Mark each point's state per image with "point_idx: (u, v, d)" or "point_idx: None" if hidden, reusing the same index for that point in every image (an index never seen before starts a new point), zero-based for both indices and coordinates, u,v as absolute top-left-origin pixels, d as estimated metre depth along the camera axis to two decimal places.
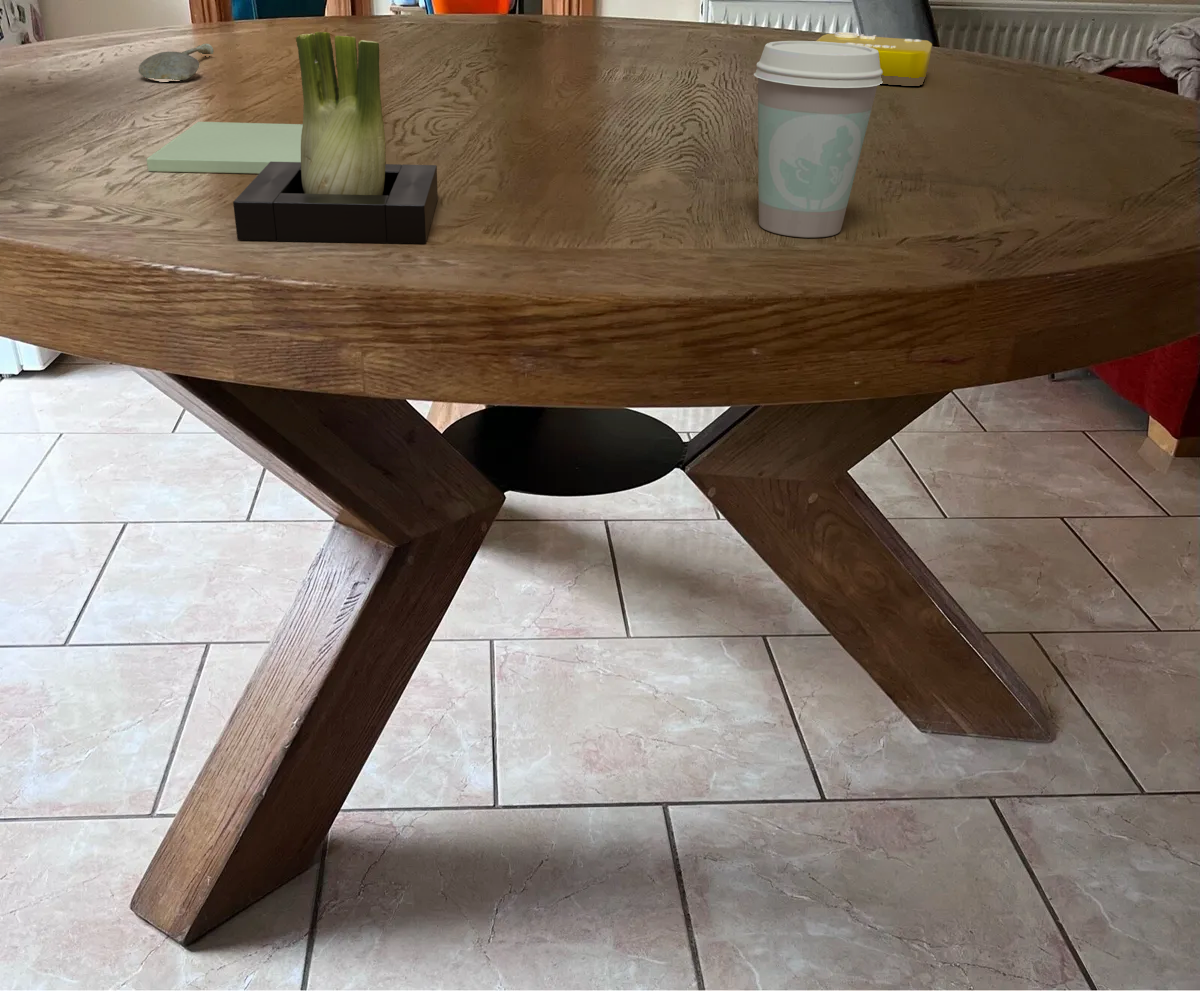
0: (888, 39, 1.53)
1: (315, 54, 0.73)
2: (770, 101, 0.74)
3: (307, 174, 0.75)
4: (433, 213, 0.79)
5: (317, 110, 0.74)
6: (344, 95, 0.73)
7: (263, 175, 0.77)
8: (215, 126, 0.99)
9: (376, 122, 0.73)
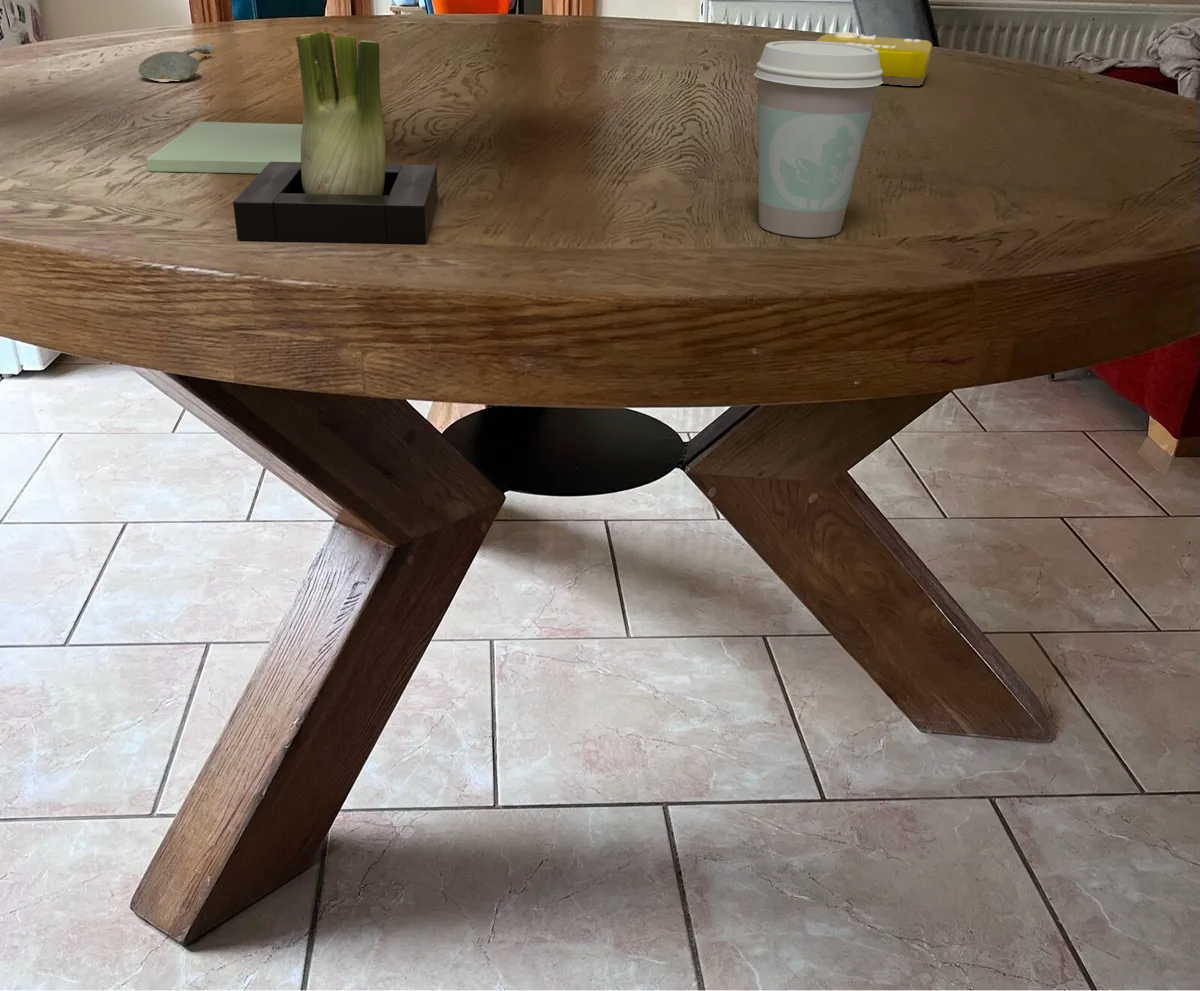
0: (888, 39, 1.53)
1: (315, 54, 0.73)
2: (770, 101, 0.74)
3: (307, 174, 0.75)
4: (433, 213, 0.79)
5: (317, 110, 0.74)
6: (344, 95, 0.73)
7: (263, 175, 0.77)
8: (215, 126, 0.99)
9: (376, 122, 0.73)
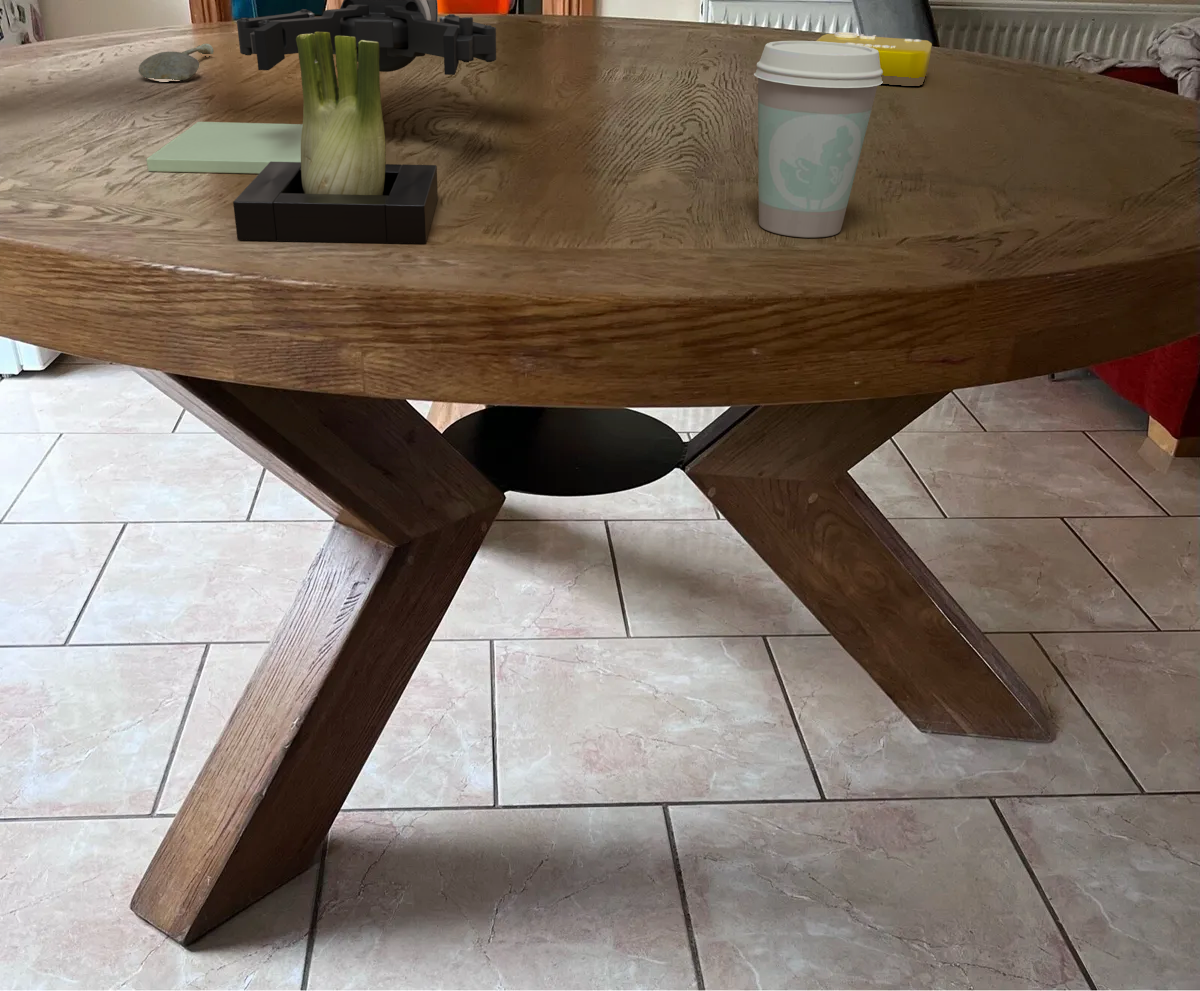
0: (888, 39, 1.53)
1: (315, 54, 0.73)
2: (770, 101, 0.74)
3: (307, 174, 0.75)
4: (433, 213, 0.79)
5: (317, 110, 0.74)
6: (344, 95, 0.73)
7: (263, 175, 0.77)
8: (215, 126, 0.99)
9: (376, 122, 0.73)
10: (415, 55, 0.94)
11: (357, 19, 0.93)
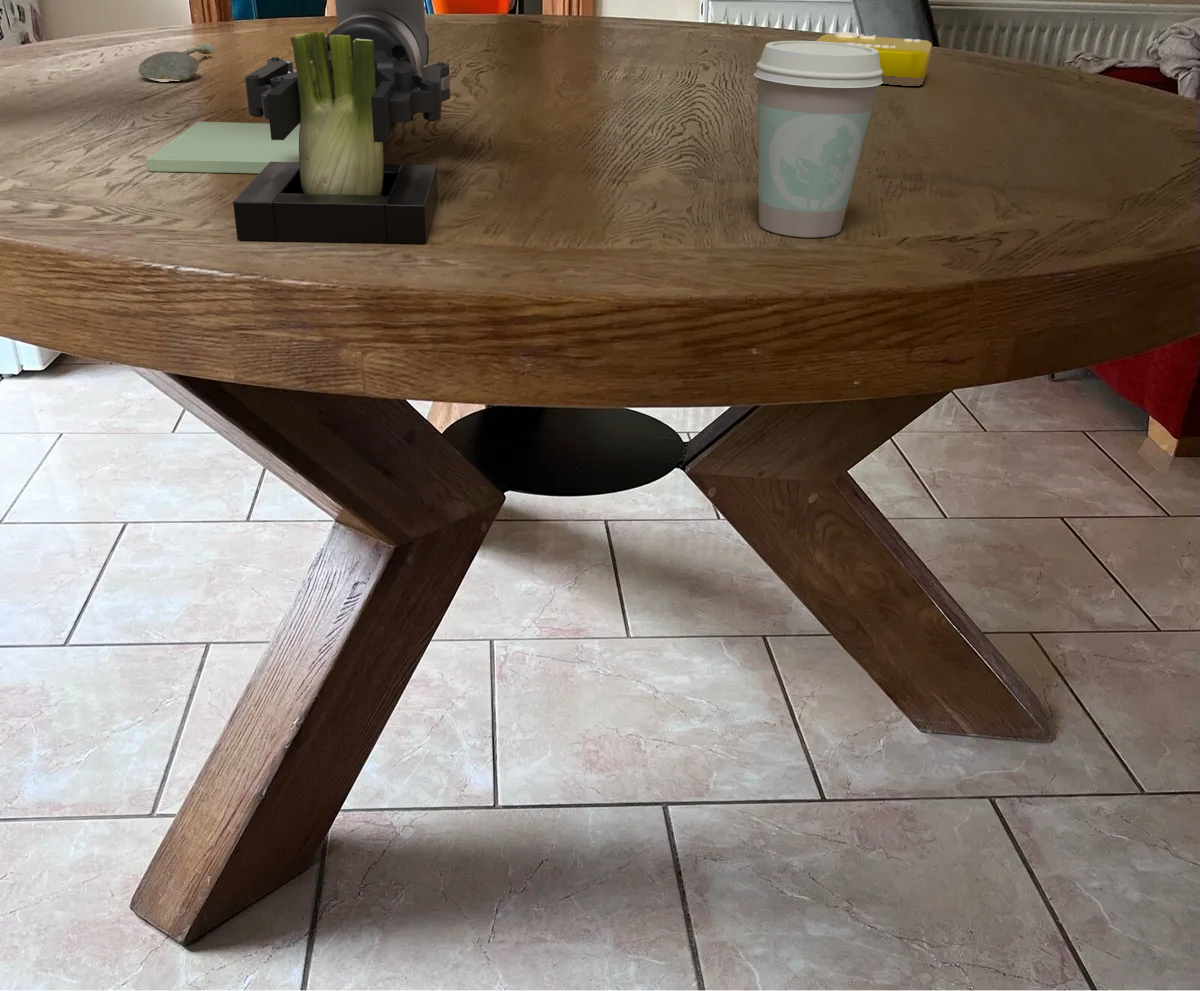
0: (888, 39, 1.53)
1: (310, 54, 0.73)
2: (770, 101, 0.74)
3: (305, 175, 0.75)
4: (433, 213, 0.79)
5: (314, 110, 0.74)
6: (340, 94, 0.73)
7: (263, 175, 0.77)
8: (215, 126, 0.99)
9: None
10: None
11: None
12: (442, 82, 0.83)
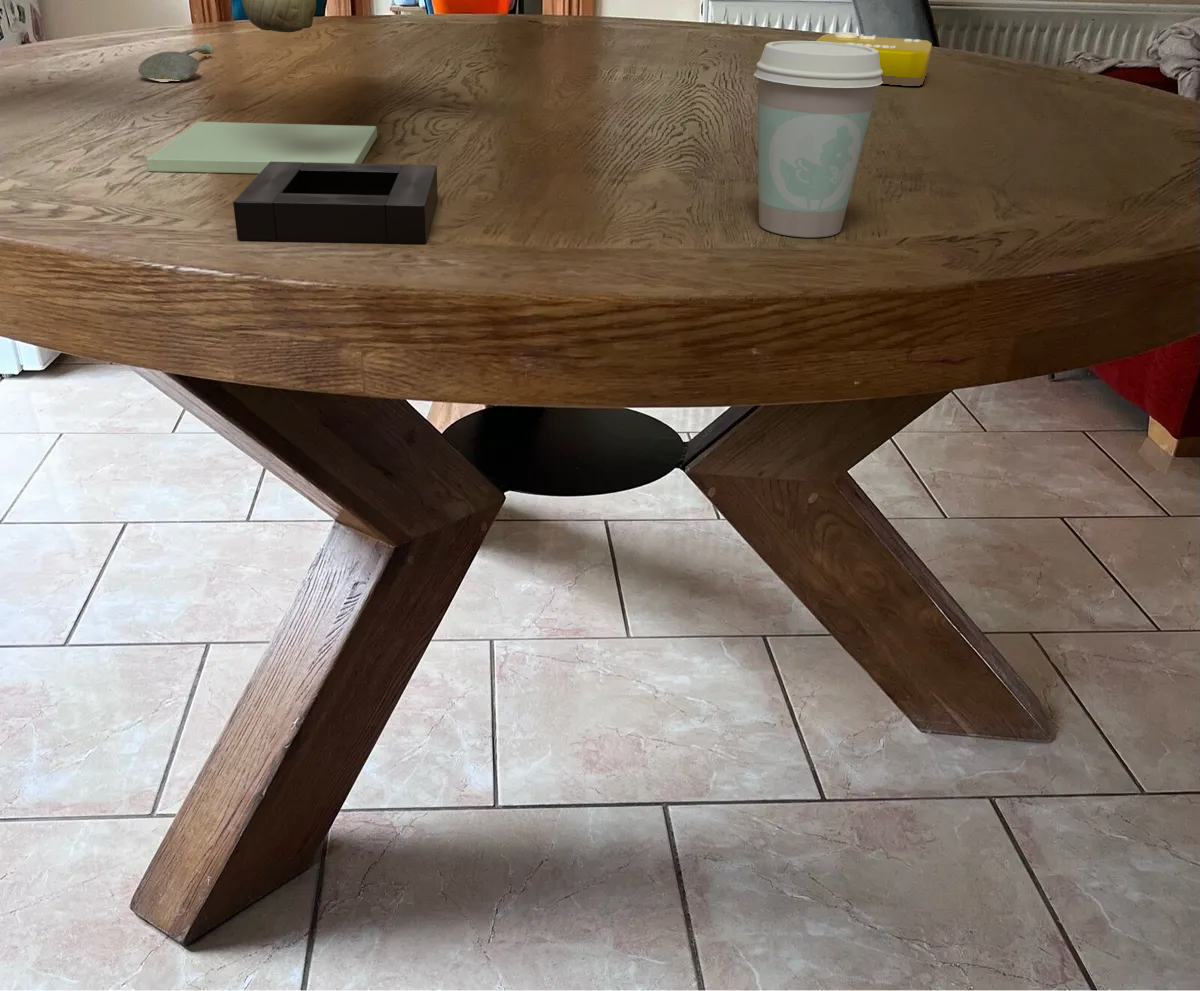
0: (888, 39, 1.53)
1: None
2: (770, 101, 0.74)
3: None
4: (433, 213, 0.79)
5: None
6: None
7: (263, 175, 0.77)
8: (215, 126, 0.99)
9: None
10: None
11: None
12: None
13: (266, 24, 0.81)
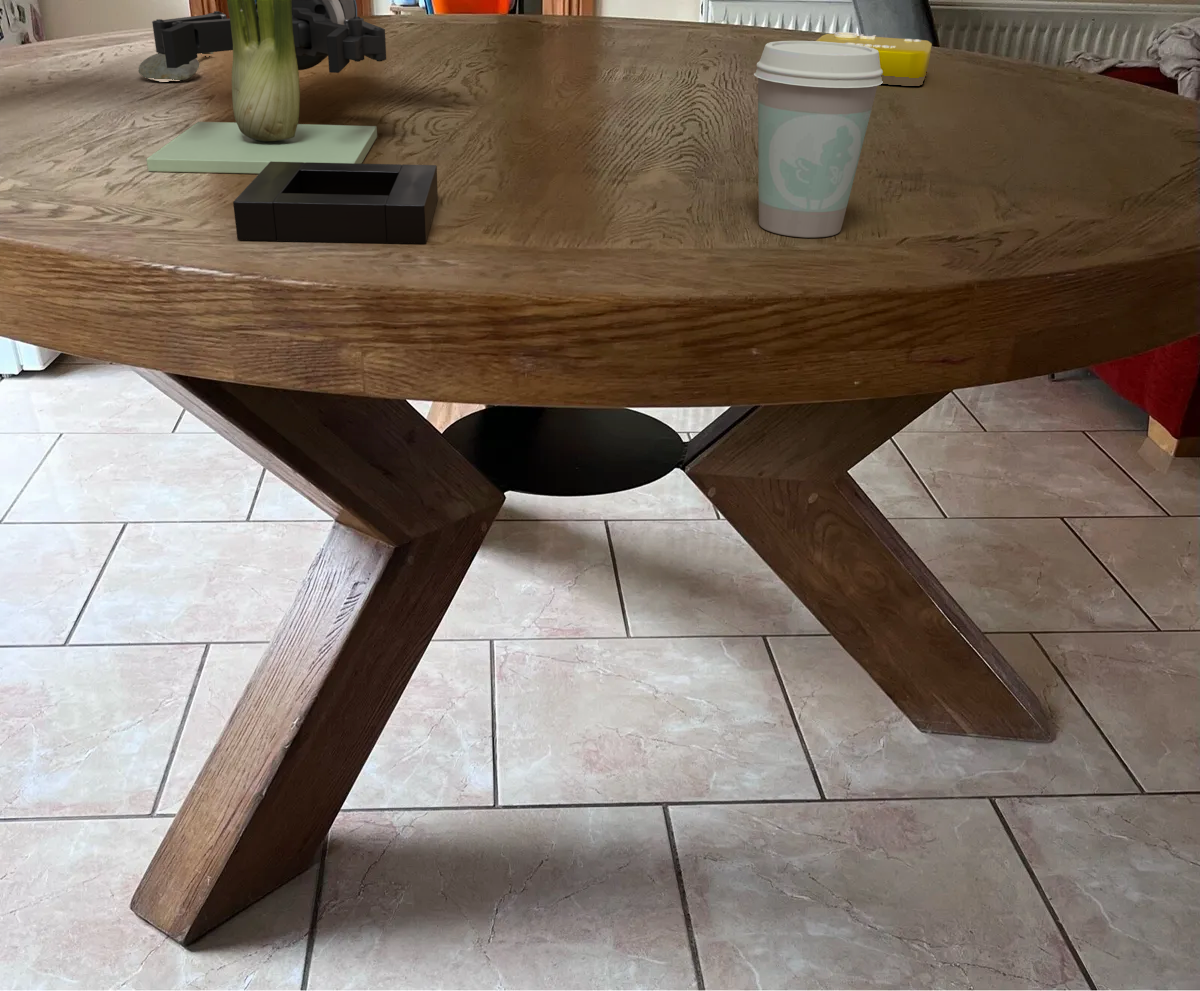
0: (888, 39, 1.53)
1: (241, 4, 0.90)
2: (770, 101, 0.74)
3: (236, 103, 0.93)
4: (433, 213, 0.79)
5: (243, 50, 0.91)
6: (264, 37, 0.90)
7: (263, 175, 0.77)
8: (215, 126, 0.99)
9: (290, 59, 0.91)
10: (320, 54, 1.00)
11: None
12: None
13: (254, 136, 0.93)
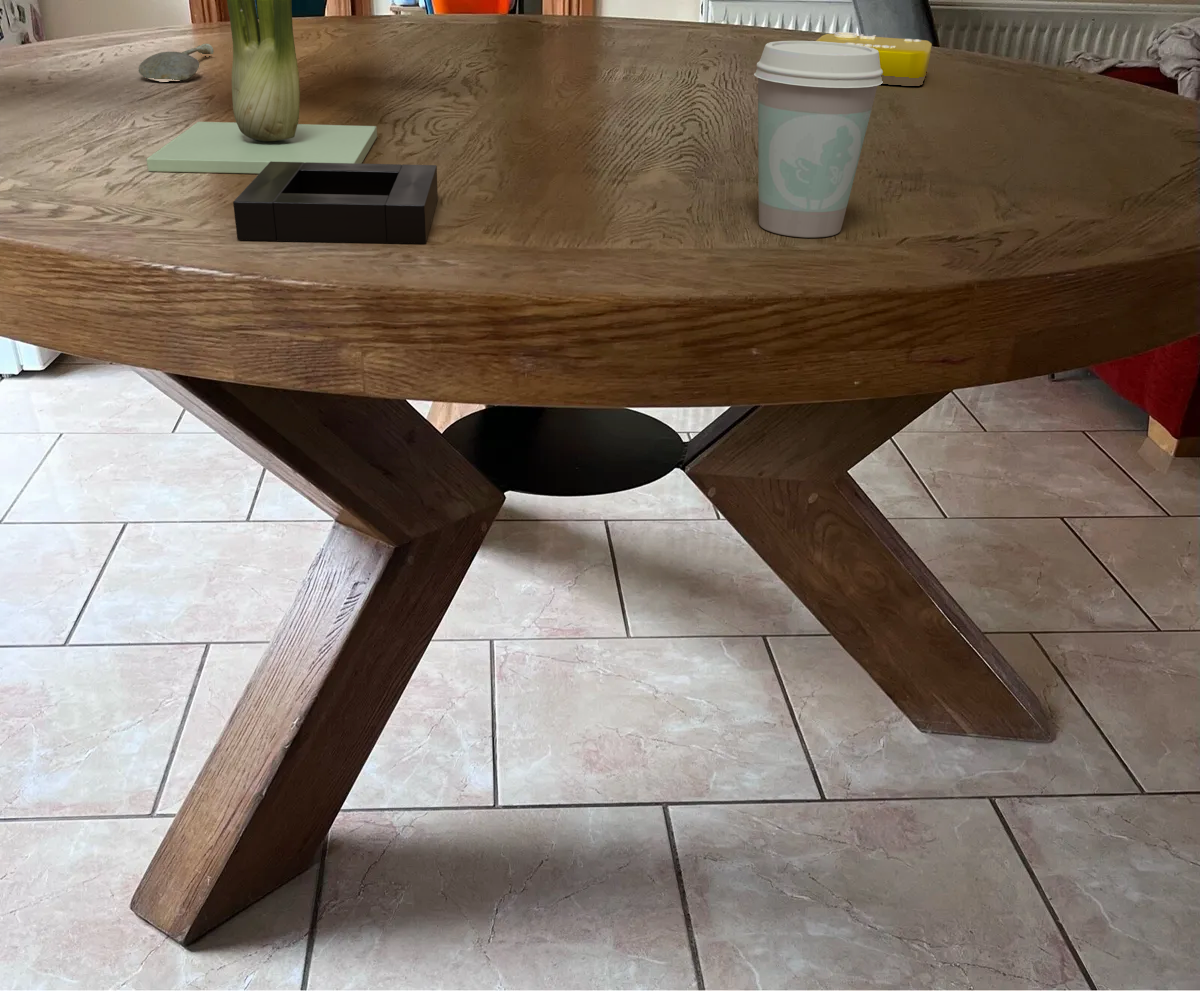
0: (888, 39, 1.53)
1: (241, 4, 0.90)
2: (770, 101, 0.74)
3: (236, 103, 0.93)
4: (433, 213, 0.79)
5: (243, 50, 0.91)
6: (264, 37, 0.90)
7: (263, 175, 0.77)
8: (215, 126, 0.99)
9: (290, 59, 0.91)
10: None
11: None
12: None
13: (254, 136, 0.93)
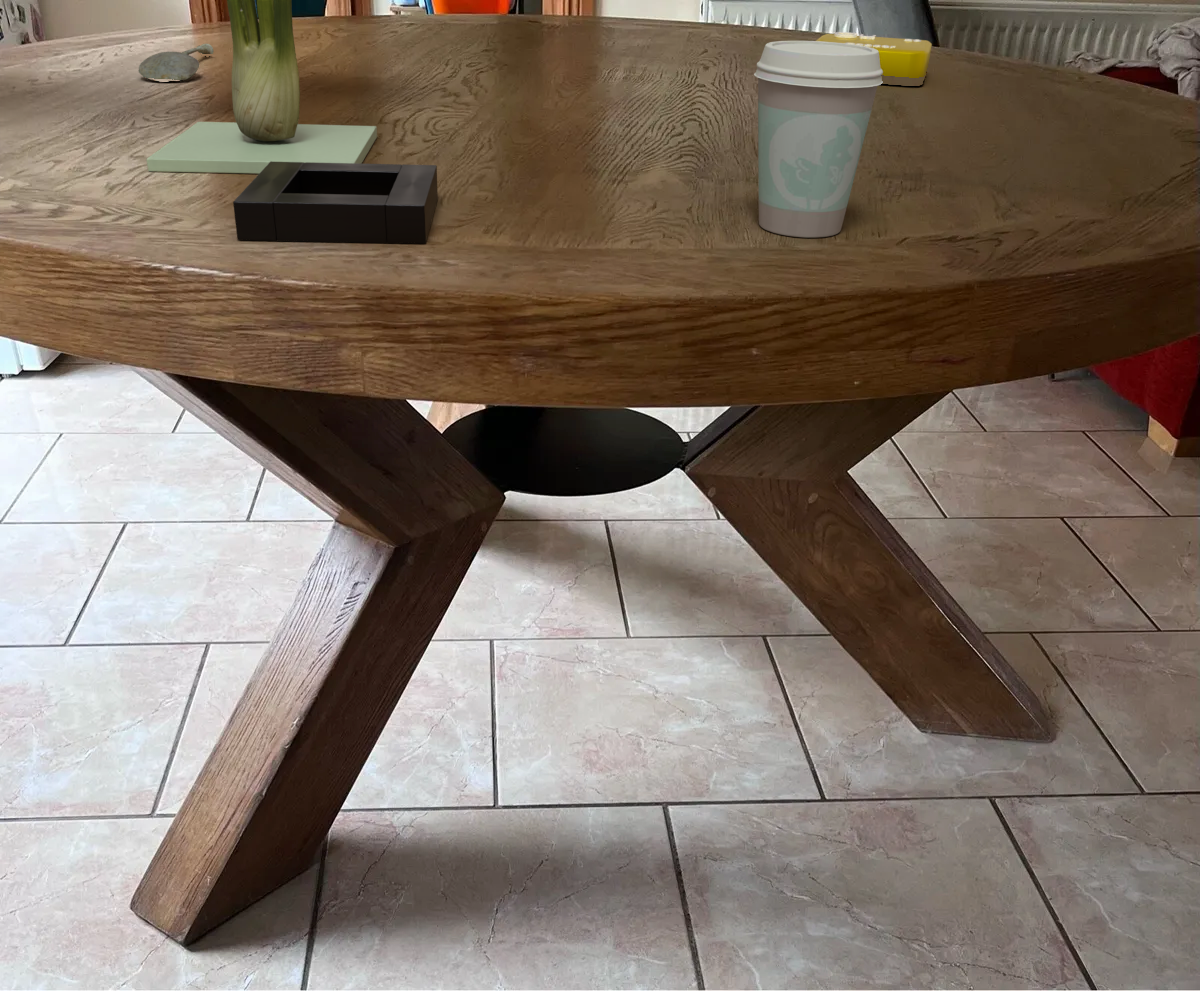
0: (888, 39, 1.53)
1: (241, 4, 0.90)
2: (770, 101, 0.74)
3: (236, 103, 0.93)
4: (433, 213, 0.79)
5: (243, 50, 0.91)
6: (264, 37, 0.90)
7: (263, 175, 0.77)
8: (215, 126, 0.99)
9: (290, 59, 0.91)
10: None
11: None
12: None
13: (254, 136, 0.93)
